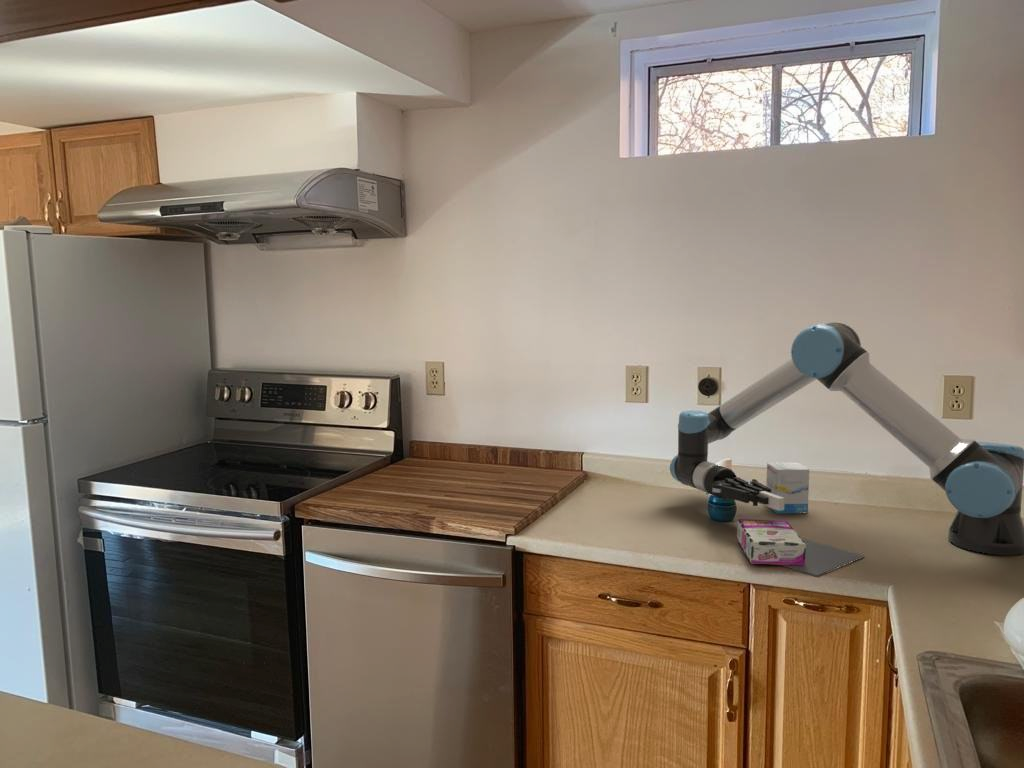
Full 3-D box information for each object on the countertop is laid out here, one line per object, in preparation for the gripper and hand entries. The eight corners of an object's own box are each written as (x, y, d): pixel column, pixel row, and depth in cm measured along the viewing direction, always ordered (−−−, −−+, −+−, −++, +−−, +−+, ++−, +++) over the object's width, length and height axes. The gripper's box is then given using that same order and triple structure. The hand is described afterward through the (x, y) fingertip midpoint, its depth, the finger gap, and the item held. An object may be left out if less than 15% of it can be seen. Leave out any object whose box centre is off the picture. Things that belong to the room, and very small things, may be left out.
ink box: (808, 513, 197) (810, 469, 195) (775, 514, 197) (776, 469, 196) (797, 504, 205) (798, 461, 204) (764, 504, 206) (766, 461, 204)
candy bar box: (736, 539, 176) (749, 564, 160) (737, 518, 176) (750, 541, 159) (787, 541, 175) (805, 566, 159) (788, 520, 174) (806, 543, 158)
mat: (864, 557, 165) (864, 555, 165) (817, 576, 154) (817, 575, 154) (789, 536, 179) (789, 534, 179) (741, 552, 168) (741, 551, 168)
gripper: (736, 492, 194) (804, 517, 173) (693, 497, 190) (757, 524, 168) (737, 462, 194) (805, 484, 172) (693, 467, 189) (758, 490, 167)
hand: (781, 504), depth 170 cm, fingers closed
